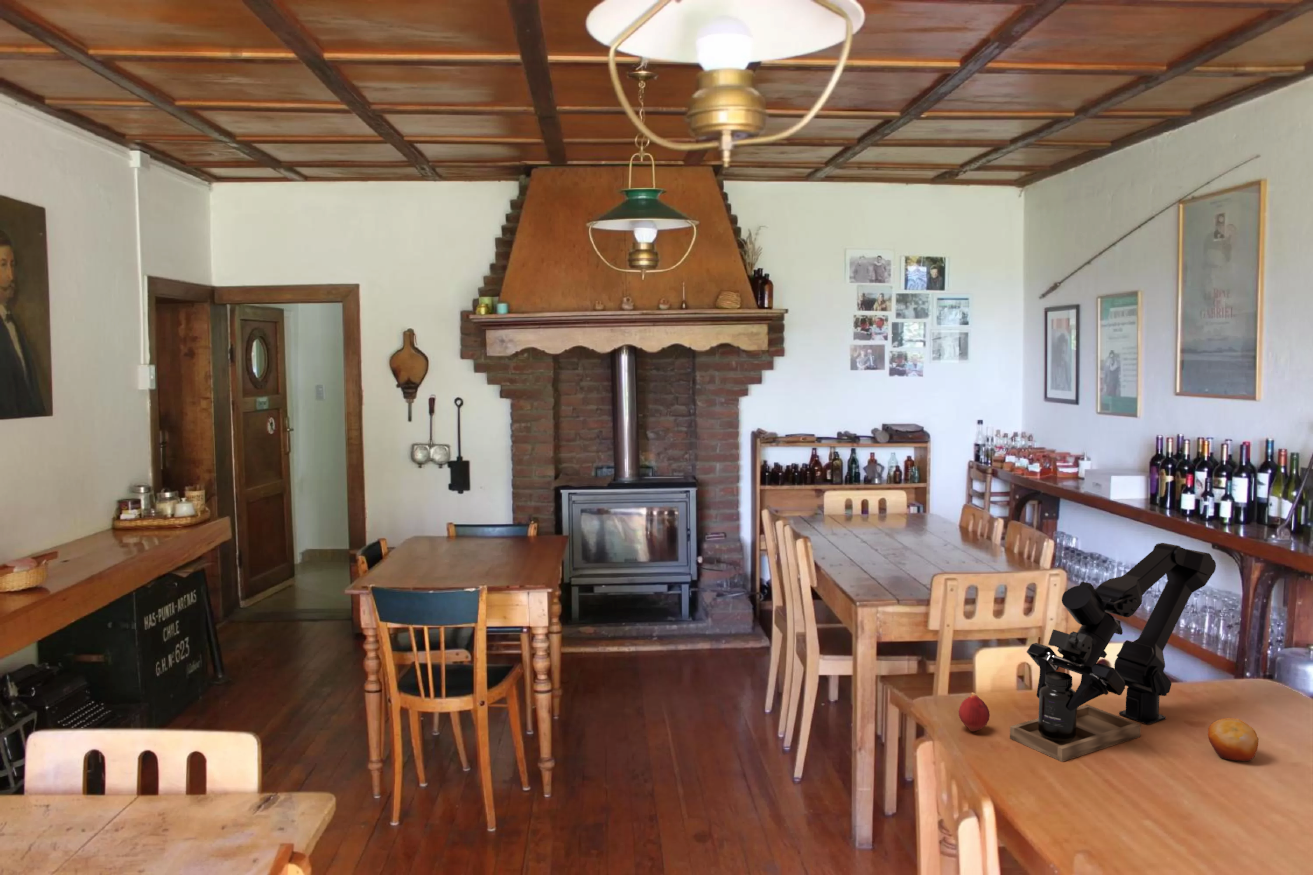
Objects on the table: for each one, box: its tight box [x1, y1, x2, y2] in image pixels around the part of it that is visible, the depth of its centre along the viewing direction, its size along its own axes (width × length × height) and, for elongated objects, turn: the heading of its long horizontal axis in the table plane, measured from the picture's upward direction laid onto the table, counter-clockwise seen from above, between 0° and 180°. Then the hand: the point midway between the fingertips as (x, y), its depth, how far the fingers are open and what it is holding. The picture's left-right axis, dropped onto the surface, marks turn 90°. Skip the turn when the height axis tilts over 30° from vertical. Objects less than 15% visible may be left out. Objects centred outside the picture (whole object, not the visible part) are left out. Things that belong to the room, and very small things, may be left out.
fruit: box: [1207, 717, 1259, 762], centre depth 173 cm, size 8×8×8 cm
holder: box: [1009, 704, 1142, 763], centre depth 182 cm, size 23×12×2 cm, turn 118°
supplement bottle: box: [1037, 670, 1077, 741], centre depth 179 cm, size 7×7×12 cm
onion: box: [958, 692, 991, 732], centre depth 185 cm, size 6×6×8 cm
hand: (1053, 703), depth 178 cm, fingers closed on supplement bottle, 7 cm apart
